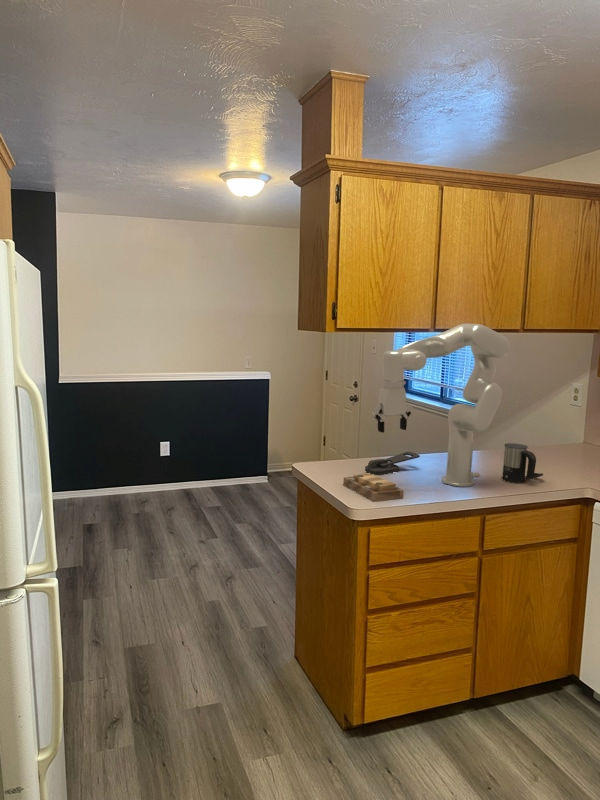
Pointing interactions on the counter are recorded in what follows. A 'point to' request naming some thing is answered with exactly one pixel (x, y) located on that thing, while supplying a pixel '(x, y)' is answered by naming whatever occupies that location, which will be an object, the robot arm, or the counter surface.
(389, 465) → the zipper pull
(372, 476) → the tan rectangular block
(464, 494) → the counter surface
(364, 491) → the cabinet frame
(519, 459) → the milk frother
